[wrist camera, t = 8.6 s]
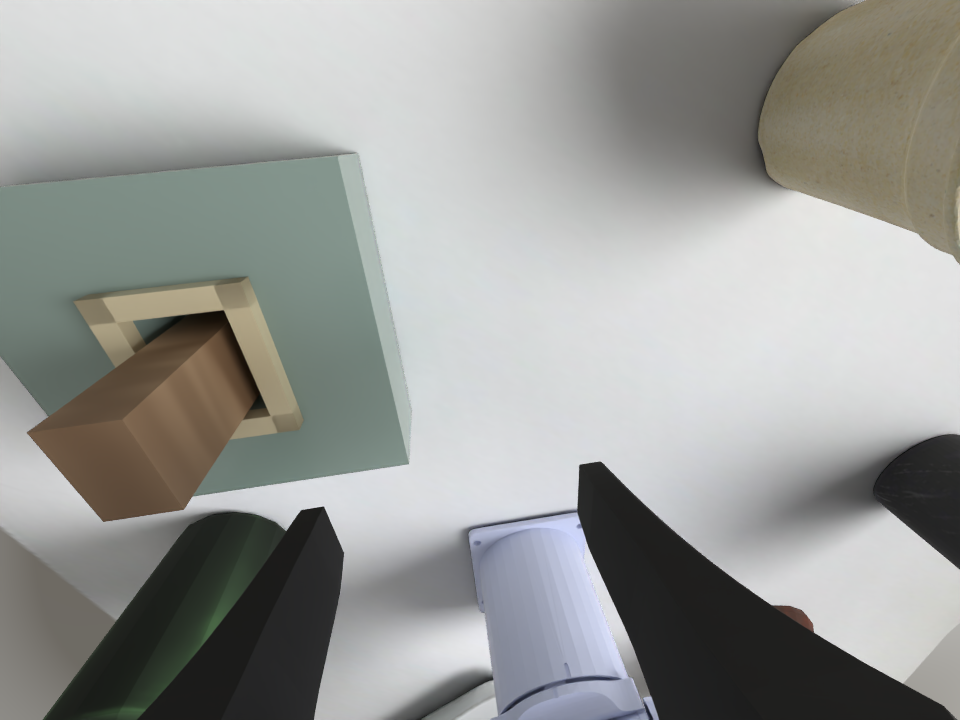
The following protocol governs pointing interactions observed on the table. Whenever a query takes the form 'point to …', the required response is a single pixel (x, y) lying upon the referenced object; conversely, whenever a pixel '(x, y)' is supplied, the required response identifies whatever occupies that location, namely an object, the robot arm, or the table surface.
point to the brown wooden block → (153, 421)
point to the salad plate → (469, 705)
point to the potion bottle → (169, 617)
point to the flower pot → (874, 116)
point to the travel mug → (927, 493)
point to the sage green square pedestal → (217, 302)
